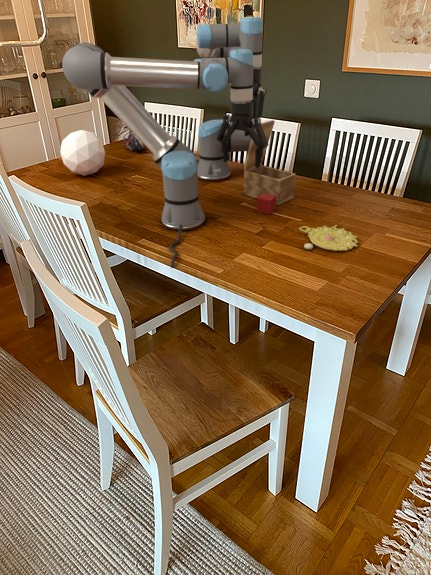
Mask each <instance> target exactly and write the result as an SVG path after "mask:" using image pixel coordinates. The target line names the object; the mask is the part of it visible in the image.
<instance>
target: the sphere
mask: <svg viewBox="0 0 431 575" xmlns="http://www.w3.org/2000/svg"><path fill="white" fill-rule="evenodd" d="M59 153H60V156H61V159H62V162H63V165H64V166H65V167H66V168H67V169H68V170H69V171H70V172H72V173H73V174H76V175H81V176H84V177H86V176H89V175H93V174H95V173H97V172H98V171H99V170H100V169H101V168H102V167H103V166H104V163H105V157H106V151H105V147H104V144H103V141H102V140H101V139H100V138H99V137H98V136H97V135H96V134H95V133H94V132H91V131H88V130H85V129H80V130H76V131H73V132H70V133H69V134H68V135H67V136H66V137H65V138H64V139H63V140H62V141H61V145H60V152H59Z"/></svg>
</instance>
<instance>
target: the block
mask: <svg viewBox="0 0 431 575" xmlns="http://www.w3.org/2000/svg"><path fill="white" fill-rule="evenodd" d="M276 209H277V205H276V195H272V194H265V193H262V194H261V195H260V196H259V197H258V198H256V213H260V214H265V215H266V214H267V215H271V214H272V213H273V212H274V211H276Z"/></svg>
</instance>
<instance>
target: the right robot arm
mask: <svg viewBox="0 0 431 575" xmlns="http://www.w3.org/2000/svg"><path fill="white" fill-rule="evenodd" d="M263 21H264V20H263V18H262V17H261V16H247V17H242V18H241V19H240V22H237V23H236V22H235V23H234V22H233V23H204V24H199V25H197V26H196V52H197V55H198V56H199V58H200V59H202V58H226V57H229V55H230V51H231V50H237V49H249V50H251V51H252V53H253V65H254V66H253V100H252V103H253V113H252V117H253V118H262V116H263V110H264V103H265V97H266V94H267V89H264V88H263V87H262V85H261V80H262V66H263V65H262V62H263V58H262V57H263V34H264V33H263V32H264V26H263V25H264V23H263ZM222 123H223V118H221V119H212V120H211V119H210V120H207V121H204V122H202V123H201V124H199V126H198V134H197V138H198V151H199V159H197V164H198V168H197V174H198V180H199V181H202V182H203V181H204V182H222V181H226V180H228V179H229V178H231V173H232V172H231V168H230V166H229V163H228V162H229V161H227V162H224V159H223V152H222V144H221V142H220V141H217V136H218V134H219V131H220V129H221V126H222ZM232 124H233V123H232V122H231V121H230V122H229V125H228V127H227V130H226V132H225V134H226V133H227V132H228V130H229V129H230V127H231V125H232ZM252 126H253V127H254V128H255V126H254V125H253V123H252ZM224 136H225V135H224ZM226 143H227V142H226ZM228 143H229V153H240V152H241V153H242V152H248V150H249V146H250V143H251V137H250V135H249V134H248V133H247V132H246V131H242V130H237V129H236V130H235V131H234V133H233V134H232V135H231V137H230V138H229V139H228Z"/></svg>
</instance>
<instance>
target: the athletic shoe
mask: <svg viewBox="0 0 431 575" xmlns="http://www.w3.org/2000/svg"><path fill="white" fill-rule="evenodd" d="M127 138H128V139H126V137H123V140H124V143H123V142H122V143H121V145H123V146H126V147H127V148H128V150H129V151H130V152H137V153H138V152H139V151H142V150H143V149H148V148H147V147H146V146H145V145H144V144H143V143H142V142H141V141H140V140H139V139H138V138H137V137H136V135H135V134H134V133H133V132H132V131H131V132H130V133H129V135H128V137H127Z"/></svg>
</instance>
